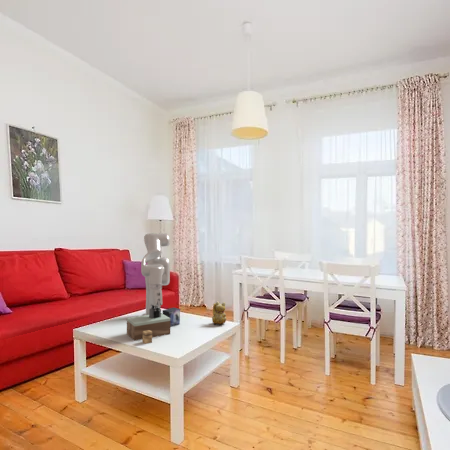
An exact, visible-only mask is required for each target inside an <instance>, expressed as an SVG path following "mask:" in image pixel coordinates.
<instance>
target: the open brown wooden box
mask: <svg viewBox="0 0 450 450" xmlns="http://www.w3.org/2000/svg"><path fill="white" fill-rule="evenodd" d="M170 322H171V321H165V322H159V323H153V324H147V325H141V326H133V325H132V324H131V323H130V322H128V321H127V320H126V335H127V336H128V337H130V338H131V339H132V340H133V341H141V340H142V339H143V334H142V333H143V331H146V330H150V331H152V338H155V337H162V336H167V335H171V327H170Z"/></svg>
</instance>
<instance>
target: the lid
mask: <svg viewBox="0 0 450 450" xmlns="http://www.w3.org/2000/svg"><path fill="white" fill-rule="evenodd" d="M154 311H155V310H154V308H153V309H149V315H144V314H143V315H137V316H132V317H126V322H127V321H128V322H130V323H131V324H132V325H133V326H141V325H147V324H153V323H159V322H165V321H170V318H169V317H167V316H166V315H164V314H163V312H162V309H161V308H160V310H159V317H157V318H154Z"/></svg>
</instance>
